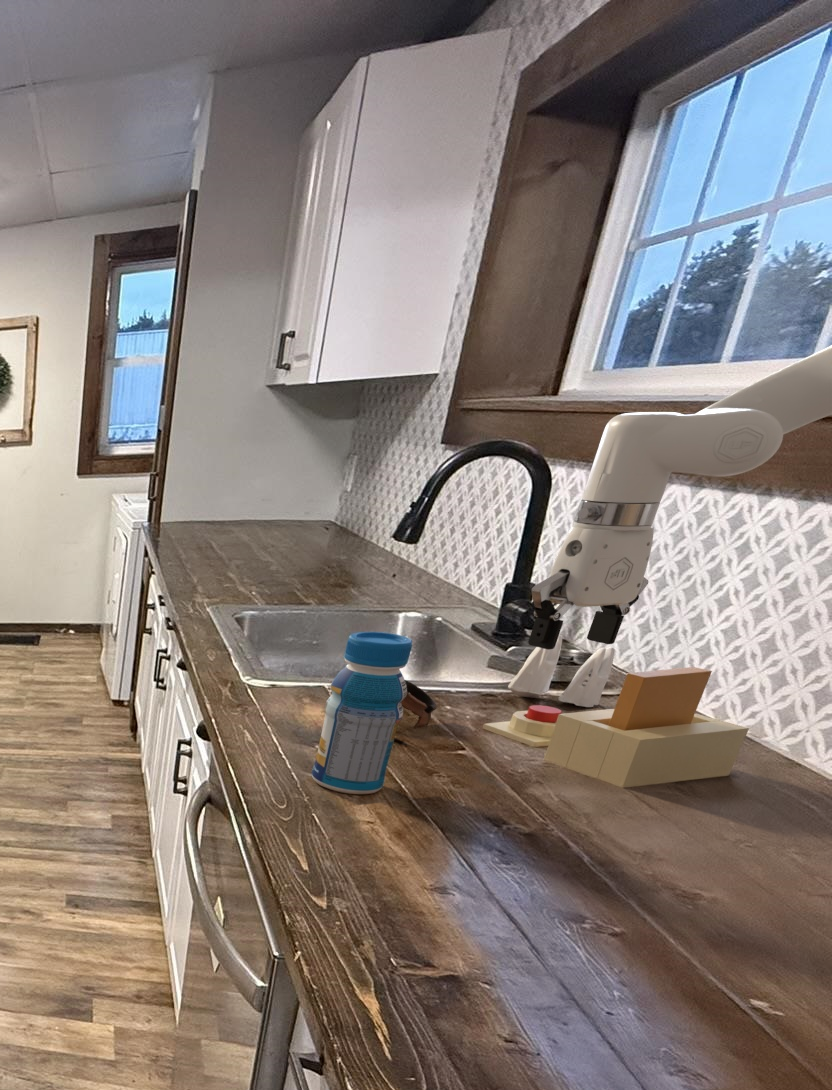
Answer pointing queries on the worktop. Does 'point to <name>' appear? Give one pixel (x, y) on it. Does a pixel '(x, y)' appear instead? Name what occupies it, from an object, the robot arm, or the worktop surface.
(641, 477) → the robot arm
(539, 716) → the pop button
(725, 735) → the toaster
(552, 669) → the shaker set
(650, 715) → the toast
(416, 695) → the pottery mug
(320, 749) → the beverage bottle
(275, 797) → the worktop surface
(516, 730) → the button block
